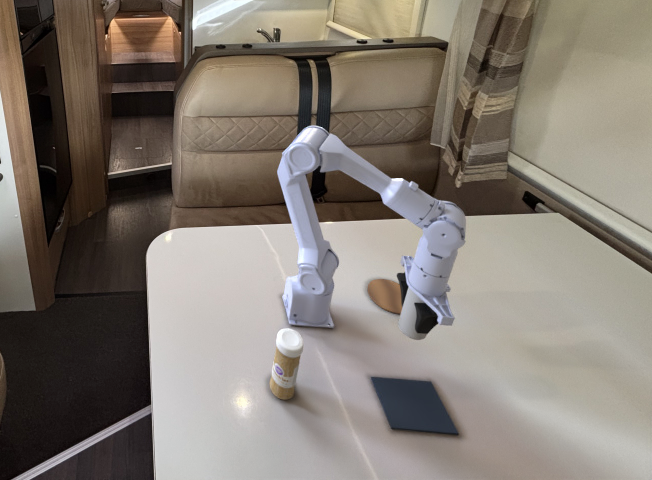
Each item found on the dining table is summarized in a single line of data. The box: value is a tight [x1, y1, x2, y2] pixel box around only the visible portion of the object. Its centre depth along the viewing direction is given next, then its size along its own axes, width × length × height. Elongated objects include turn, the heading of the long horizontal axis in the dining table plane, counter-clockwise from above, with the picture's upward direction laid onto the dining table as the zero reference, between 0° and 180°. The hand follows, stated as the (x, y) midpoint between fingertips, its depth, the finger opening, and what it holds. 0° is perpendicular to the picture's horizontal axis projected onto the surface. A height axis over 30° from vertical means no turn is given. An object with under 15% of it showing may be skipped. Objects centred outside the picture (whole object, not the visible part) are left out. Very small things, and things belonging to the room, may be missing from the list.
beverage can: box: [397, 287, 428, 341], centre depth 81 cm, size 5×5×12 cm
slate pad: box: [370, 376, 460, 436], centre depth 77 cm, size 11×9×1 cm
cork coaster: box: [366, 278, 402, 315], centre depth 100 cm, size 10×10×1 cm
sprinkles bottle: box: [269, 327, 305, 401], centre depth 78 cm, size 5×5×14 cm
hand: (414, 319), depth 82 cm, fingers closed on beverage can, 5 cm apart
